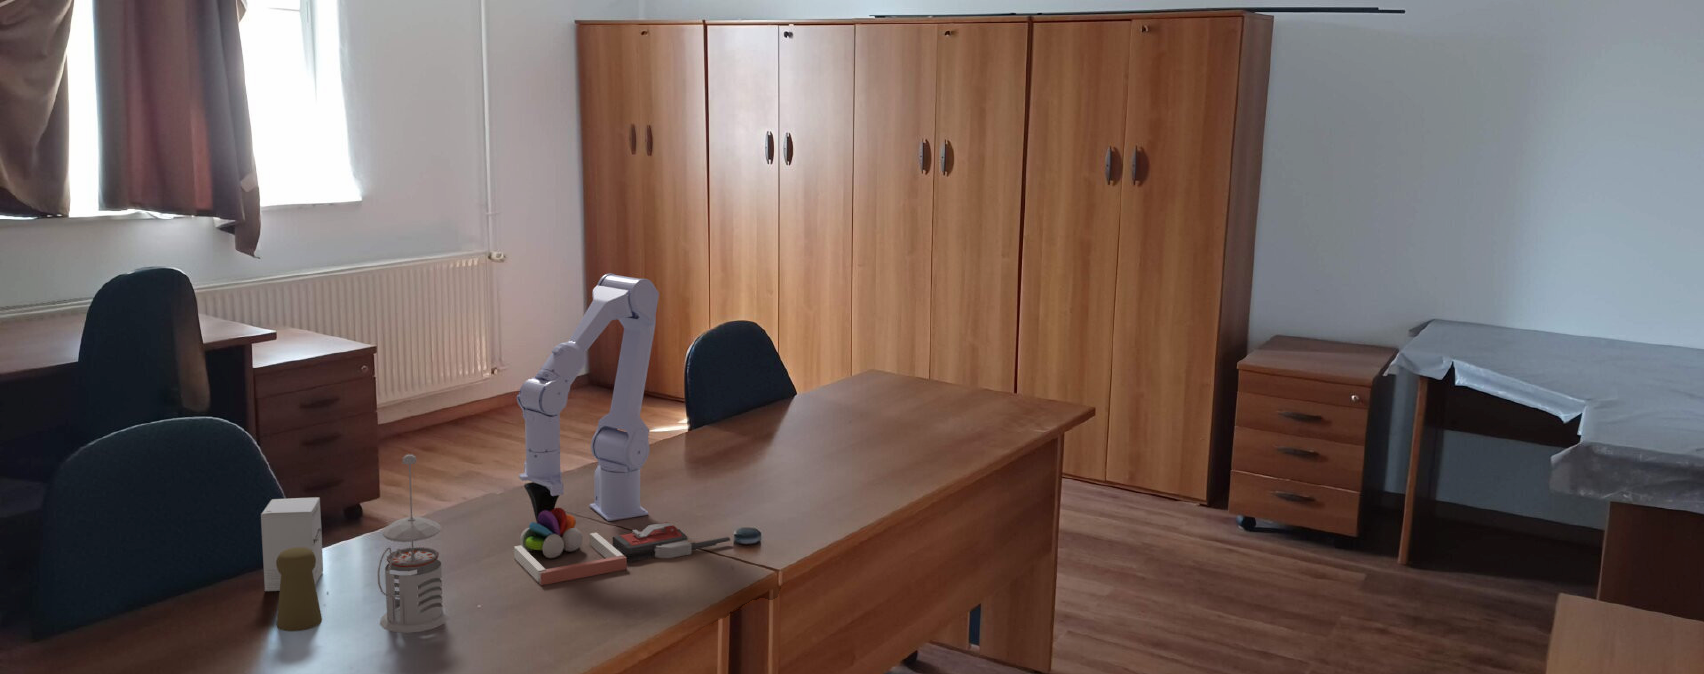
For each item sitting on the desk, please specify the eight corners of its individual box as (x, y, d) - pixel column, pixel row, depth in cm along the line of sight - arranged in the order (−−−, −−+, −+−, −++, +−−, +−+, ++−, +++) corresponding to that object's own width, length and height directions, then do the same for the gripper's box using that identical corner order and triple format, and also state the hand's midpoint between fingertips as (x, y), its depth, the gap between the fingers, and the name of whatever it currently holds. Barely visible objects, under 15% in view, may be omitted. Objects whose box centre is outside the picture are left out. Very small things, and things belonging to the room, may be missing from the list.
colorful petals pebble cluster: (590, 548, 212) (590, 508, 211) (545, 564, 204) (544, 522, 203) (557, 536, 217) (557, 497, 215) (512, 551, 209) (511, 510, 208)
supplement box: (315, 589, 191) (311, 511, 189) (263, 592, 190) (258, 513, 187) (325, 571, 198) (321, 496, 196) (275, 573, 197) (270, 497, 194)
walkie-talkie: (625, 569, 204) (732, 548, 215) (625, 544, 203) (733, 524, 215) (604, 552, 211) (709, 532, 222) (604, 527, 211) (709, 509, 222)
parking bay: (514, 557, 207) (514, 546, 206) (596, 543, 215) (596, 532, 214) (541, 585, 196) (540, 573, 196) (626, 568, 204) (626, 557, 203)
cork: (293, 634, 176) (289, 561, 174) (267, 623, 179) (263, 551, 177) (331, 620, 181) (327, 548, 179) (305, 610, 184) (301, 539, 182)
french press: (463, 610, 186) (459, 449, 181) (414, 642, 175) (408, 471, 170) (408, 600, 188) (402, 441, 184) (356, 630, 178) (348, 463, 173)
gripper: (506, 440, 216) (507, 514, 219) (533, 462, 204) (535, 540, 207) (545, 435, 220) (546, 508, 222) (575, 456, 208) (575, 533, 211)
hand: (543, 523), depth 215 cm, fingers closed
